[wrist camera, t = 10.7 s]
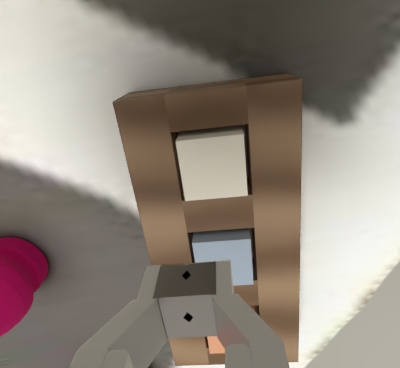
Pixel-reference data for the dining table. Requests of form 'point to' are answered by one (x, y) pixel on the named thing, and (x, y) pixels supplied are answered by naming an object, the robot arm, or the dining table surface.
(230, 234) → the slate button
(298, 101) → the button panel
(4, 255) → the pepper mill
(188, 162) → the cream button
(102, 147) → the dining table surface
